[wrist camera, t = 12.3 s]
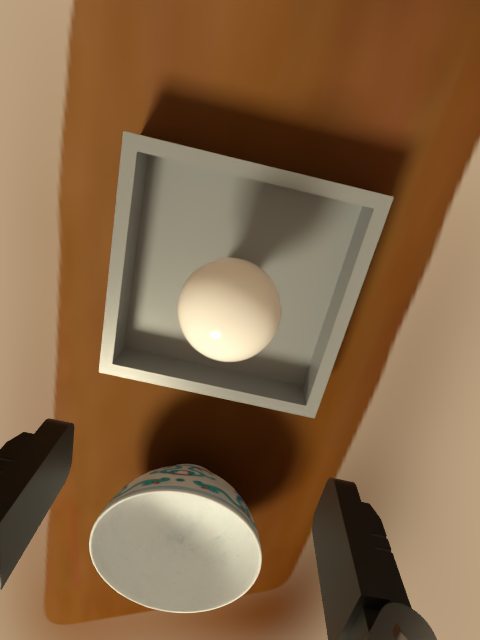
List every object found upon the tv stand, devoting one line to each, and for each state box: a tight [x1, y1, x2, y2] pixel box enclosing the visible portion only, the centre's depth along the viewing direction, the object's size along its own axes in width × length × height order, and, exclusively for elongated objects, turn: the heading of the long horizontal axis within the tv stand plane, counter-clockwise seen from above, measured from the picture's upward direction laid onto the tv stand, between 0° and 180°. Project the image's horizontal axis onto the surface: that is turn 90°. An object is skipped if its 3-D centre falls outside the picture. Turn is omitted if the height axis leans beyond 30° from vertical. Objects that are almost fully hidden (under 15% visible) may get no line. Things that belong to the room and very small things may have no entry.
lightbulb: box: [177, 258, 282, 362], centre depth 26 cm, size 6×6×11 cm
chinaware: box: [89, 464, 262, 613], centre depth 38 cm, size 15×15×8 cm
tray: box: [99, 131, 394, 418], centre depth 31 cm, size 18×18×4 cm
